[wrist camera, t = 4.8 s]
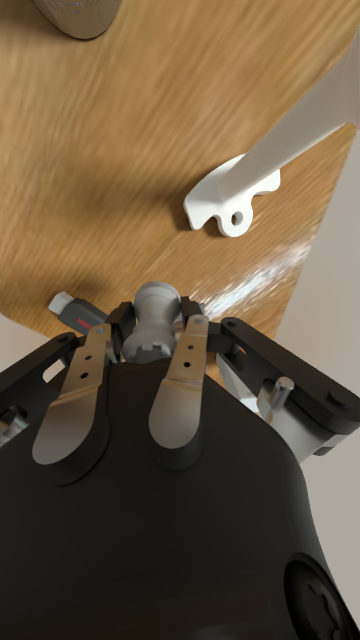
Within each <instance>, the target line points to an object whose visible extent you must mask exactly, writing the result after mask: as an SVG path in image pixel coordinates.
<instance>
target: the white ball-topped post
mask: <svg viewBox="0 0 360 640" xmlns="http://www.w3.org/2000/svg"><path fill="white" fill-rule="evenodd" d="M348 123H353V124H354V125H355V126H356V127H358V128H359V129H360V22H359V25H358V27H357V30H356V33H355V36H354V39H353V41H352V43H351V45H350V46H349V48H348V50H347V51H346V52H345V54H344V55H343V57H342V58H341V59H340V60H339V62H338V63H337V64H336V65H335V66H334V67H333V68H332V69H331V70H330V71H329V72H328V73H327V74H326V75H325V76H324V77H323V78H322V79H321V80H320V81H319V82H318V83H317V84H316V85H315V86H314V87H313V88H312V89H311V90H310V91H309V92H308V93H307V94H306V95H305V96H304V97H303V98H302V99H301V100H300V101H299V102H298V103H297V104H296V105H295V106H294V107H293V108H292V109H291V110H290V111H289V112H288V113H287V114H286V115H285V116H284V117H283V118H282V119H281V120H280V121H279V122H278V123H277V124H276V125H275V126H274V127H273V128H271V129H270V130H269V131H268V132H267V133H266V134H265V135H264V136H263V137H262V138H261V139H260V140H259V141H258V142H257V143H256V144H255V145H254V146H253V147H252V148H251V149H250V150H249V151H248V152H247V153H245V154H242V155H240V156H238V157H235V158H233V159H231V160H229V161H228V162H226V163H224V164H222V165H221V166H219V167H218V168H216V169H215V170H213V171H212V172H211V173H209V174H208V175H207V176H206V177H205V178H203V179H202V180H201V181H200V182H199V183H198V184H197V185H196V186H195V187H194V188H193V189H192V190H191V191H190V193H189V194H188V195H187V196H186V198H185V200H184V203H183V207H184V210H185V213H187V216H188V219H189V222H190V226H191V228H192V229H193V230H198V229H200V228H201V227H202V226H203V224H204V223H205V222H206V221H207V220H208V219H209V218H210V217H211V216H212V217H215V218H216V219H217V222H218V228H219V231H220V232H221V234H222V235H224V236H226V237H237V236H240V235H242V234H243V233H245V232H246V231H247V229H248V228H249V226H250V224H251V222H252V217H253V211H252V207H251V199H252V197H253V195H266V194H268V193H270V192H272V191H275V190H276V189H277V188H278V187H279V185H280V168H281V167H282V166H284V165H285V164H287V163H288V162H290V161H291V160H293V159H294V158H296V157H297V156H299V155H300V154H302V153H303V152H305V151H306V150H308V149H309V148H311V147H312V146H314V145H315V144H317V143H318V142H320V141H321V140H322V139H324V138H325V137H327V136H328V135H330V134H331V133H333V132H334V131H336V130H337V129H339V128H340V127H342V126H343V125H345V124H348ZM233 214H234V215H235V217H236V222H235V224H234V225H233V224H232V222H231V218H232V215H233Z"/></svg>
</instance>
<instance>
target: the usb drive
mask: <svg viewBox="0 0 360 640" xmlns="http://www.w3.org/2000/svg"><path fill="white" fill-rule="evenodd" d="M48 309H50V310H51V311H53V312H55V313H56V314H58V315H59V316H58V319H59V320H61V321H62V322H63V323H64V324H65V325H67V326H69V327H71V328H72V329H74V330H76V331H78V332H79V333H81V334H83V335H88V333H89V330H90V329H91V328H93V327H94V326H96V325H99V324H103V323H104V322H105V320H106V319H107V318H108V315H107V314H105V313H104V312H102V311H101V310H99V309H98V308H96V307H95V306H93V305H92V304H90V303H89V302H87V301H86V300H83V299H79V298H73V297H72V296H70V295H68V294H67V293H65V292H64V291H62V292H60V293H58V294H57V295H56V296H55V297H54V299H53V300H52V302H51V303H50V305H49V307H48Z"/></svg>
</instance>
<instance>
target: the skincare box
mask: <svg viewBox="0 0 360 640" xmlns="http://www.w3.org/2000/svg"><path fill="white" fill-rule="evenodd" d="M239 348H240V349H241V350H242V351H243V352H244V353H245V351H244V350H243V349H242V348H241V347H239ZM245 354H246V353H245ZM216 363H217V366H218V368H219V371H220V373H221V376H222V379H223V381H224V384H225V387H226V389H227V391H228V392H229V393H230V394H232V395H233V396H234V397H235V398H237V399H238V400H239V401H240V402H242V403H243V404H244V405H245V406H247V407H248V408H249V409H250V410H252V411H253V412H259V410H258V408H257V404H256V400H257V398H256V397H255V396H254V395H253V393H252V392H251V391H250V390H249V389H248V388H247V387H246V385H245V384H244V383H243V382H242V381H241V380H240V379H239V378H238V376H237V375H236V374H235V373H234V372H233V371H232V370H231V369H230V367H229V366H228V365H227V364H226V363H225V362H224V361H223V359H222V358H221V357H220V356H219V354H218V353H217V356H216Z"/></svg>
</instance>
